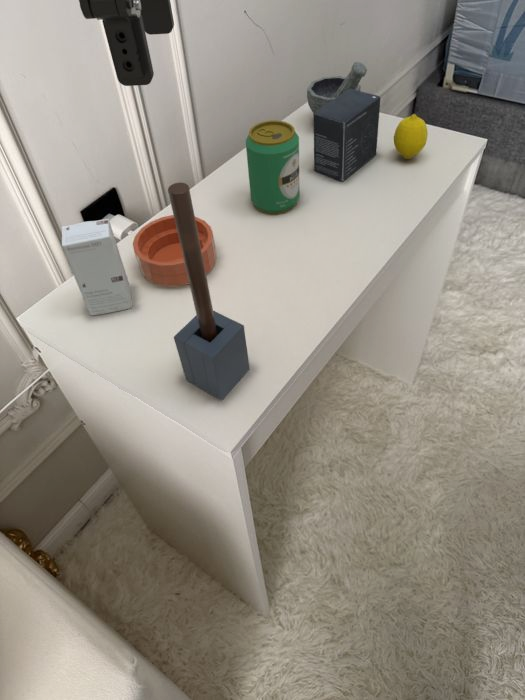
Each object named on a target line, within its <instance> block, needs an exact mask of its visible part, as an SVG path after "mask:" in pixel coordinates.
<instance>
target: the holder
mask: <svg viewBox="0 0 525 700" xmlns="http://www.w3.org/2000/svg"><path fill="white" fill-rule="evenodd" d="M213 313H214V318H215V323H216V328H217V334H218V335H217V336H216V337H215V338H214V339H213V340H212V341H211V342H208V341H206V340H204V339H202V336H201V332H200V328H199V323H198V319H197V315H195V316H194V317H193V318H191V319H190V321H188V322H187V323H186V324H185V326H183V327H182V328H181V329H180V330H179V331H178V332H177V333H176V334H175V335H174V336H173V341H174V343H175V347H176V351H177V354H178V357H179V360H180V364H181V368H182V371H183V375H184V378H185V381H187V382H189V383H190V384H192V385H194V386H195V387H197V388H199V389H201V390H202V391H204V392H206V393H208V394H209V395H211V396H212V397H214V398H216V399H218V400H220V401H221V402H222V401H223V400H224V399H225V398H226V397H227V396H228V395H229V393H230V392H231V391H232V390H233V389H234V388H235V387H236V386H237V384H239V382H240V381H241V380H242V378H244V376H245V375H246V374H247V373H248V372H249V371H250V370H251V369H250V368H251V367H250V361H249V360H250V359H249V353H248V346H247V339H246V332H245V325H244V324H242V323H240V322H239V321H236V320H234V319H232V318H230V317H228V316H226V315H223V314H222V313H219V312H217V311H216V310H213Z"/></svg>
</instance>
